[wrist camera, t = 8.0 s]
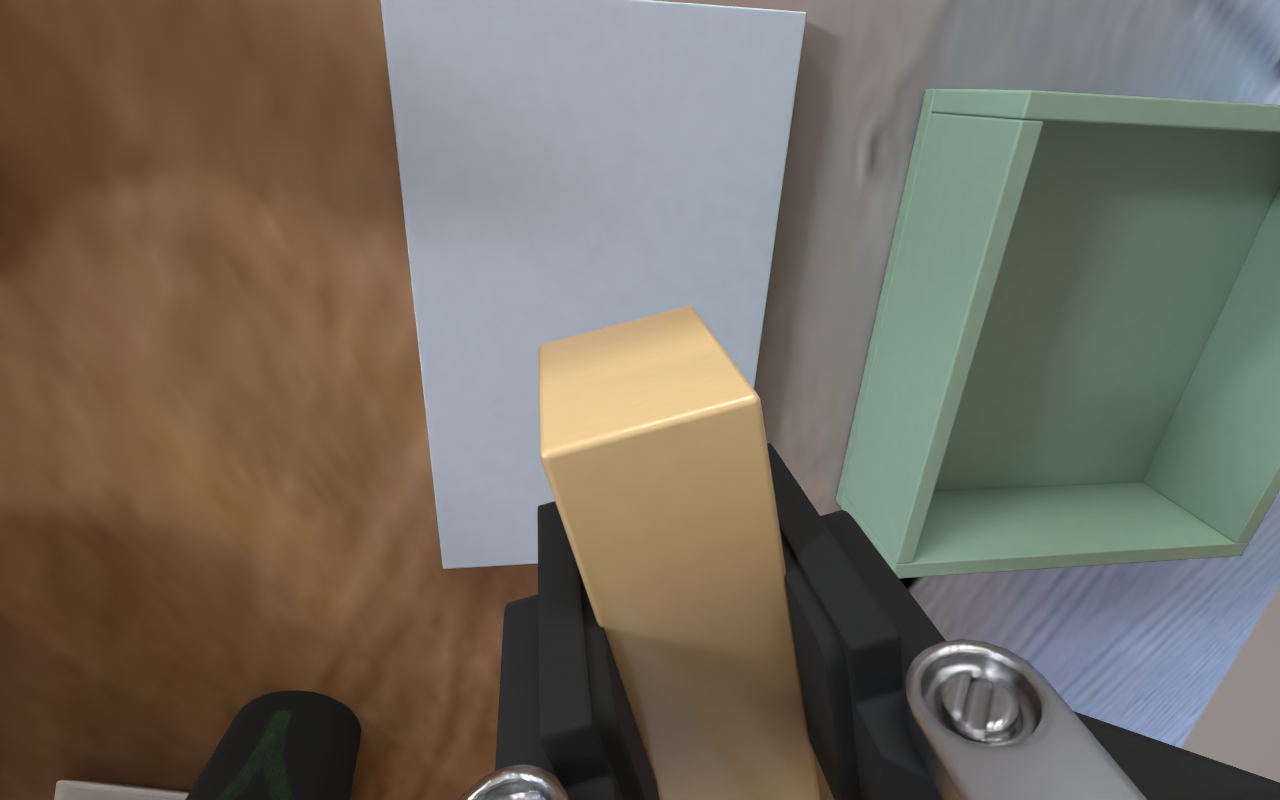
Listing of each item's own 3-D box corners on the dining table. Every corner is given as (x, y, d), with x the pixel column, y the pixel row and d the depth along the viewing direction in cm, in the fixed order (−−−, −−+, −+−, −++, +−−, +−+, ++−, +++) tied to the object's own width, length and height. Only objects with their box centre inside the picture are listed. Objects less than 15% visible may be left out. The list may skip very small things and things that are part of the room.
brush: (479, 358, 9) (453, 477, 6) (748, 287, 9) (841, 372, 6) (654, 836, 14) (682, 1013, 11) (821, 787, 14) (889, 951, 11)
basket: (925, 88, 21) (1030, 90, 17) (1311, 111, 23) (1497, 118, 19) (834, 500, 28) (891, 579, 24) (1138, 486, 31) (1242, 556, 26)
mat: (385, -16, 18) (377, -21, 17) (795, 15, 20) (807, 12, 19) (446, 553, 27) (442, 569, 26) (725, 538, 28) (731, 553, 28)
